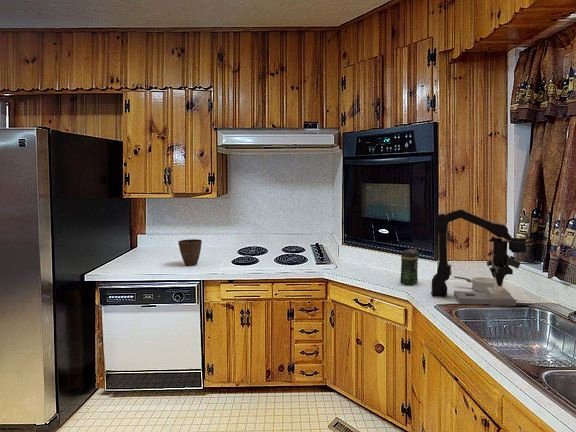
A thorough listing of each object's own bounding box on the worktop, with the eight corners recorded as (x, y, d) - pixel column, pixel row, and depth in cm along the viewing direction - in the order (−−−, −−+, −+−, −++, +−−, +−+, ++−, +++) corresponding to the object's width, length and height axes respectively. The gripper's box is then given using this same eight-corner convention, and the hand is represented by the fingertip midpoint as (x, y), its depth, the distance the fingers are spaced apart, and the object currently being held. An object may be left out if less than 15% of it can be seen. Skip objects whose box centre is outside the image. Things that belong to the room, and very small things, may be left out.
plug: (495, 293, 193) (496, 277, 192) (493, 291, 196) (494, 275, 195) (502, 293, 192) (503, 277, 191) (500, 292, 195) (501, 275, 194)
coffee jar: (412, 286, 220) (413, 251, 219) (398, 284, 225) (398, 249, 224) (419, 282, 228) (420, 248, 226) (405, 280, 233) (406, 247, 231)
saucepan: (456, 284, 225) (456, 274, 225) (497, 289, 214) (498, 278, 214) (451, 289, 215) (451, 278, 215) (494, 295, 205) (495, 283, 204)
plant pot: (175, 267, 270) (174, 242, 269) (184, 262, 285) (183, 238, 284) (197, 267, 269) (197, 242, 267) (205, 262, 283) (204, 239, 282)
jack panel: (458, 303, 192) (459, 292, 191) (453, 295, 204) (454, 285, 203) (516, 306, 187) (516, 295, 187) (507, 298, 199) (507, 287, 198)
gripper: (526, 256, 181) (524, 291, 183) (512, 248, 200) (510, 280, 201) (498, 255, 183) (497, 290, 185) (487, 247, 202) (485, 279, 203)
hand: (498, 285), depth 193 cm, fingers closed on plug, 3 cm apart
